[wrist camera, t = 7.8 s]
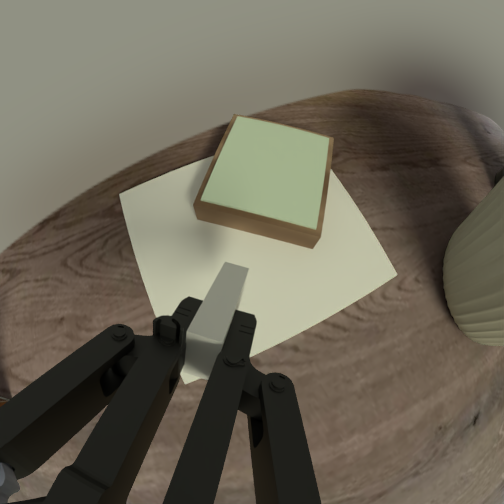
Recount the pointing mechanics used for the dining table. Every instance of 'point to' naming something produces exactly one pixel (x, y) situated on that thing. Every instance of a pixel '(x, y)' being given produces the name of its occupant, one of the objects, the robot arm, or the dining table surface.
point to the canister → (478, 271)
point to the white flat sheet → (251, 257)
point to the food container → (3, 401)
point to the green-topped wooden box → (268, 181)
